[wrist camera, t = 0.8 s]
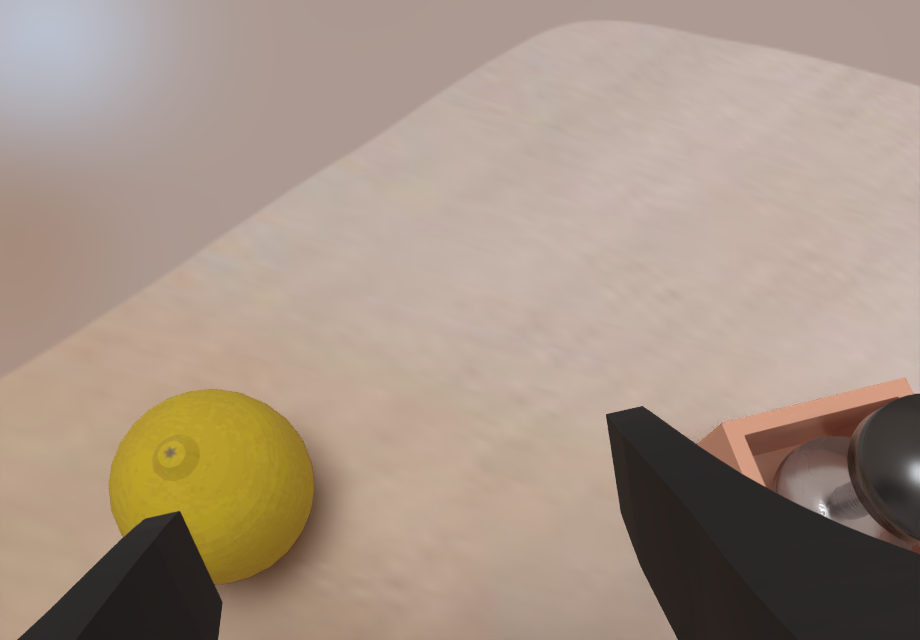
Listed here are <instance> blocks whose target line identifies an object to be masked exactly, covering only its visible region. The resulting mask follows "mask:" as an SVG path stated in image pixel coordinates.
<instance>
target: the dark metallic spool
mask: <svg viewBox="0 0 920 640" xmlns="http://www.w3.org/2000/svg"><path fill="white" fill-rule="evenodd" d="M772 491H774V492H776V493H777V494H779V495H781V496H783V497H785V498H787V499H789V500H791V501H793V502H795V503H797V504H799V505H801V506H803V507H805V508H807V509H810V510H812V511H814V512H816V513H818V514H820V515H823V516H825V517H827V518H829V519H831V520H834V521H836V522H838V523H840V524H842V525H845V526H847V527H850V528H852V529H854V530H857V531H859V532H862V533H864V534H867V535H869V536H872V537H875V538H877V539H880V540H883V541H886V542H888V543H891V544H894V545H896V546H899V547H902V548H904V549H907V550H910V551H911V549H912V547H913V545H915V546H918V547H920V394H912V395H907V396H904V397H901V398H898V399H896V400H894V401H892V402H890V403H888V404H886V405H885V406H883V407H881V408H880V409H878V410H876V411H874V412H873V413H871V414H870V415H868V416H867V417H866V418H864V419H863V420H862V421H861V422H860V423H859V425H858V426H857V428H856V429H855V430H854V433H853V435H852V437H851V438H849V437H843V436H826V437H820V438H817V439H814V440H811V441H809V442H807V443H805V444H803V445H801V446H800V447H798V448H796V449H795V450H794V451H792V452H791V453H789V454H788V455H787V456H786V457H785V458H784V460H783V461H782V462H781V464H780V465H779V467H778V469H777V471H776V473H775V476H774V479H773V484H772Z"/></svg>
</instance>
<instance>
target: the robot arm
mask: <svg viewBox="0 0 920 640" xmlns="http://www.w3.org/2000/svg"><path fill="white" fill-rule="evenodd" d="M606 418H607V425H608V431H609V438H610V444H611V451H612V457H613V464H614V471H615V477H616V484H617V490H618V497H619V503H620V510H621V514H622V517H623V520H624V523H625V525H626V528H627V531H628V534H629V536H630V539H631V542H632V545H633V547H634V550H635V553H636V555H637V558H638V561H639V563H640V566H641V568H642V570H643V572H644V574H645V576H646V578H647V580H648V582H649V584H650V586H651V588H652V590H653V592H654V594H655V596H656V598H657V600H658V602H659V604H660V606H661V607H662V609H663V611H664V613H665V615H666V617H667V619H668V621H669V623H670V625H671V627H672V629H673V631H674V633H675V635H676V637H677V639H678V640H920V554H918V553H915V552H913V551H910V550H907V549H904V548H902V547H899V546H896V545H894V544H891V543H888V542H886V541H883V540H880V539H877V538H875V537H872V536H869V535H867V534H864V533H862V532H859V531H857V530H854V529H852V528H850V527H847V526H845V525H842V524H840V523H838V522H836V521H834V520H831V519H829V518H827V517H825V516H823V515H820V514H818V513H816V512H814V511H812V510H810V509H807V508H805V507H803V506H801V505H799V504H797V503H795V502H793V501H791V500H789V499H787V498H785V497H783V496H781V495H779V494H777V493H776V492H774V491H772V490H770V489H768V488H767V487H765V486H763V485H761V484H759V483H758V482H756V481H754V480H752V479H750V478H749V477H747V476H745V475H744V474H742V473H740V472H739V471H737V470H735V469H734V468H732V467H731V466H729V465H728V464H726V463H724V462H723V461H721V460H720V459H718V458H717V457H715V456H713V455H712V454H710V453H709V452H707V451H706V450H704V449H703V448H701V447H700V446H698V445H697V444H695V443H694V442H693V441H691V440H690V439H688V438H687V437H685V436H684V435H683V434H681V433H680V432H678V431H677V430H676V429H674V428H673V427H671V426H670V425H669V424H667V423H666V422H664V421H663V420H662V419H660V418H659V417H658V416H656V415H655V414H653V413H652V412H650V411H649V410H647V409H646V408H644V407H643V406H641V407H636V408H632V409H628V410H623V411H619V412H614V413H610V414H606ZM221 610H222V600H221V598H220V596H219V594H218V592H217V589H216V587H215V585H214V583H213V581H212V579H211V576H210V574H209V572H208V570H207V568H206V566H205V564H204V561H203V559H202V557H201V555H200V553H199V551H198V548H197V546H196V544H195V542H194V540H193V538H192V535H191V533H190V531H189V529H188V527H187V525H186V523H185V520H184V518H183V516H182V514H181V512H180V511H177V512H172V513H168V514H163V515H159V516H155V517H150V518H146V519H144V520H142V521H141V522H140V523H139V524H138V525H136V526H135V527H134V528H133V529H132V530H131V531H130V532H129V533H127V534H126V535H125V536H124V537H123V538H122V539H121V540H120V541H119V542H118V543H117V544H116V545H115V546H114V547H113V548H112V549H111V550H110V551H109V552H108V553H107V554H106V555H105V556H104V557H103V558H102V559H101V560H99V561H98V562H97V563H96V564H95V565H94V566H93V567H92V568H91V569H90V570H89V571H88V572H87V573H86V574H85V575H84V576H83V577H82V578H81V579H80V580H79V581H78V582H77V583H76V584H75V585H74V586H73V587H72V588H71V589H70V590H69V591H68V592H67V593H66V594H65V595H64V596H63V597H62V598H61V599H60V600H59V601H58V602H57V603H56V604H55V605H54V606H53V607H52V608H51V609H50V610H49V611H48V612H47V613H46V614H45V615H44V616H42V617H41V618H40V619H39V620H38V621H37V622H36V623H35V624H34V625H33V626H32V627H31V628H30V629H28V630H27V631H26V632H25V633H24V634H23V635H22V636H21V637H20V638H19V639H18V640H218V635H219V627H220V619H221Z"/></svg>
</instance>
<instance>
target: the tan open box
mask: <svg viewBox="0 0 920 640" xmlns="http://www.w3.org/2000/svg"><path fill="white" fill-rule="evenodd" d="M912 394H914V393H913V391H912V389H911V387H910V385H909V384H908V382H907V380H906V378H901V379H897V380H893V381H889V382H885V383H881V384H877V385H873V386H869V387H865V388H861V389H857V390H853V391H849V392H845V393H841V394H837V395H833V396H829V397H825V398H821V399H817V400H813V401H809V402H805V403H801V404H797V405H793V406H789V407H785V408H781V409H777V410H773V411H769V412H765V413H761V414H757V415H753V416H749V417H745V418H741V419H737V420H733V421H729V422H725V423H721V424H720V425H719V426H718V427H717V428H716V429H714V430H713V431H712V432H711V433H710V434H709V435H708V436H706V437H705V438H704V439H703V440H702V441H701V442H699V443H698V444H697V445H698V446H700V447H701V448H703V449H704V450H706V451H707V452H709V453H710V454H712V455H713V456H715V457H717V458H718V459H720V460H721V461H723V462H724V463H726V464H728V465H729V466H731V467H732V468H734V469H735V470H737V471H739V472H740V473H742V474H744V475H745V476H747V477H749V478H750V479H752V480H754V481H756V482H758V483H759V484H761V485H763V486H765V487H767V488H768V489H770V490H772V484H773V479H774V476H775V473H776V471H777V469H778V467H779V465H780V464H781V462H782V461H783V460H784V458H785V457H786V456H787V455H788V454H789V453H791V452H792V451H794V450H795V449H796V448H798V447H800V446H801V445H803V444H805V443H807V442H809V441H811V440H814V439H817V438H820V437H826V436H843V437H849V438H851V437H852V435H853V433H854V430H855V429H856V428H857V426H858V425H859V423H860V422H861V421H862V420H863V419H864V418H866V417H867V416H868V415H870V414H871V413H873V412H874V411H876V410H878V409H880V408H881V407H883V406H885V405H886V404H888V403H890V402H892V401H894V400H896V399H898V398H901V397H904V396H907V395H912ZM911 551H913V552H915V553H918V554H920V547H918V546H915V545H913V547H912V549H911Z"/></svg>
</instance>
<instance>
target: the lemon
mask: <svg viewBox="0 0 920 640" xmlns="http://www.w3.org/2000/svg"><path fill="white" fill-rule="evenodd" d="M109 494H110V503H111V510H112V513H113V515H114V518H115V520H116V523H117V525H118V528H119V530H120V532H121V535H122V536H123V537H124V536H125V535H126V534H127V533H129V532H130V531H131V530H132V529H133V528H134V527H135V526H136V525H138V524H139V523H140V522H141V521H142V520H144V519H146V518H150V517H155V516H159V515H163V514H168V513H172V512H177V511H180V512H181V514H182V516H183V518H184V520H185V523H186V525H187V527H188V529H189V531H190V533H191V535H192V538H193V540H194V542H195V544H196V546H197V548H198V551H199V553H200V555H201V557H202V559H203V561H204V564H205V566H206V568H207V570H208V572H209V574H210V576H211V579H212V581H213V583H214V584H226V583H230V582H234V581H238V580H242V579H246V578H249V577H251V576H253V575H255V574H257V573H259V572H261V571H263V570H265V569H267V568H268V567H270V566H272V565H273V564H274V563H275V562H276V561H277V560H279V559H280V558H281V557H282V556H283V555H284V554H285V553H287V552H288V551H289V549H290V548H291V547H292V545H293V544H294V542H295V541H296V540H297V538H298V537H299V535H300V534H301V533H302V531H303V529H304V526H305V524H306V521H307V519H308V517H309V514H310V512H311V507H312V501H313V495H314V479H313V469H312V463H311V460H310V458H309V455H308V452H307V450H306V447H305V444H304V442H303V440H302V439H301V437H300V436H299V435H298V433H297V432H296V430H295V429H294V428H293V426H292V425H291V424H290V422H289V421H288V420H287V419H286V418H284V417H283V416H282V415H280V414H279V413H278V412H277V411H275V410H274V409H273V408H271V407H270V406H269V405H267V404H266V403H263V402H261V401H259V400H256V399H254V398H251V397H249V396H247V395H244V394H242V393H238V392H231V391H224V390H217V389H208V390H199V391H191V392H186V393H183V394H181V395H178V396H175V397H172V398H169V399H166V400H165V401H163V402H162V403H160V404H158V405H157V406H155V407H153V408H152V409H150V410H148V411H147V412H146V413H145V414H144V415H143V416H142V417H141V418H140V419H139V420H138V421H137V422H136V423H135V424H134V425H133V426H132V427H131V428H130V430H129V431H128V433H127V434H126V436H125V437H124V439H123V440H122V441H121V443H120V445H119V447H118V450H117V452H116V455H115V457H114V460H113V462H112V466H111V473H110V480H109Z"/></svg>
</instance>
